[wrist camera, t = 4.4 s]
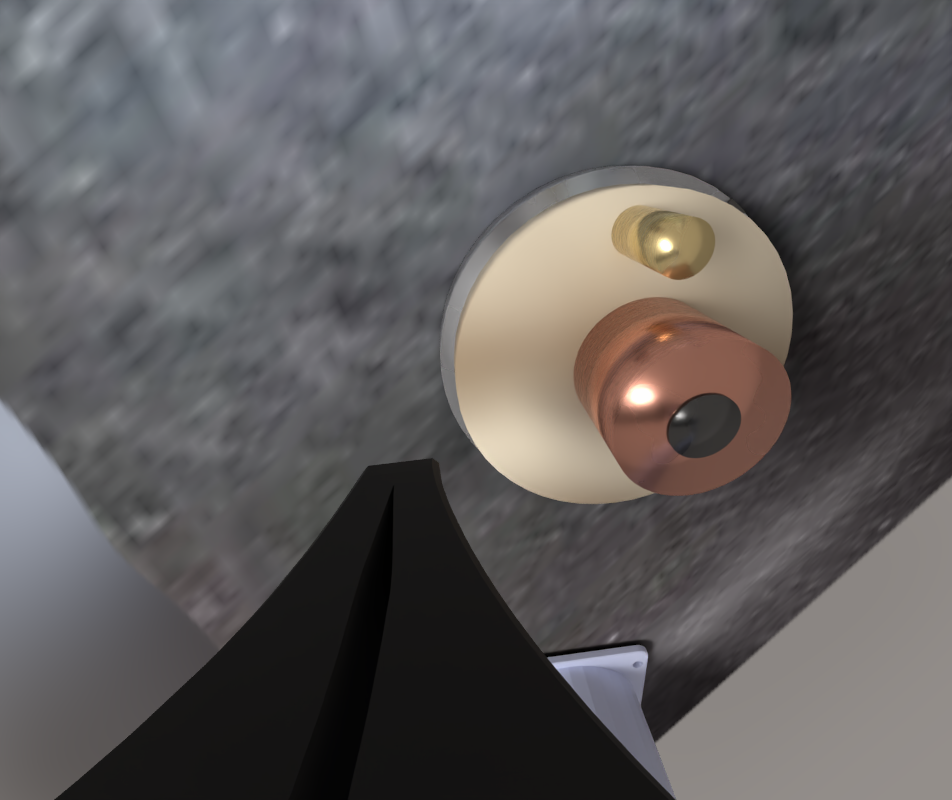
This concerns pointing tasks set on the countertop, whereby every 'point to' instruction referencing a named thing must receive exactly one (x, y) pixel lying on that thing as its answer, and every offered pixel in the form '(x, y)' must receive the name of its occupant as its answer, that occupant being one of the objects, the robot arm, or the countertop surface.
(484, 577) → the robot arm
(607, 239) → the turntable
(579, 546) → the countertop surface
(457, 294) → the base
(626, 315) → the cover
